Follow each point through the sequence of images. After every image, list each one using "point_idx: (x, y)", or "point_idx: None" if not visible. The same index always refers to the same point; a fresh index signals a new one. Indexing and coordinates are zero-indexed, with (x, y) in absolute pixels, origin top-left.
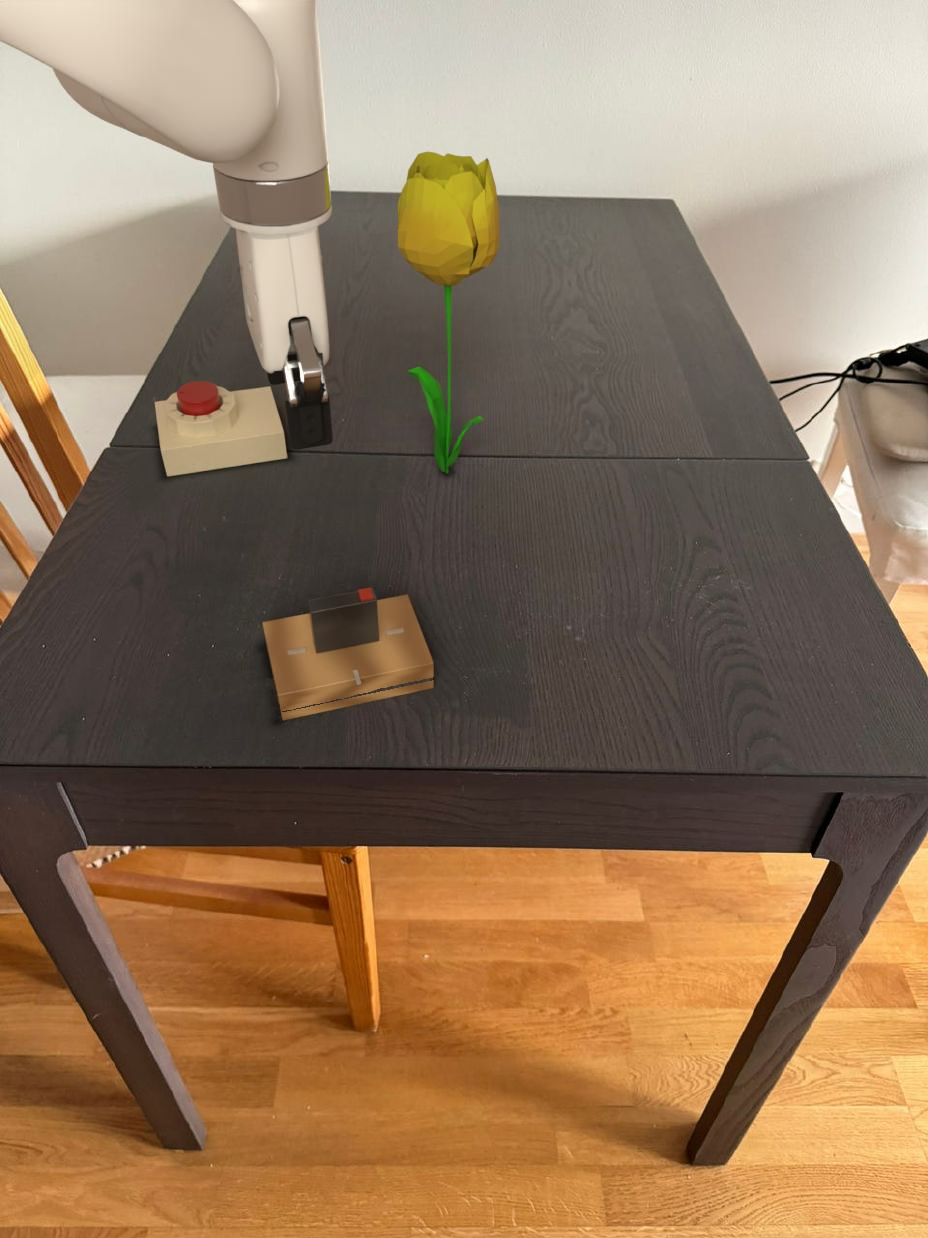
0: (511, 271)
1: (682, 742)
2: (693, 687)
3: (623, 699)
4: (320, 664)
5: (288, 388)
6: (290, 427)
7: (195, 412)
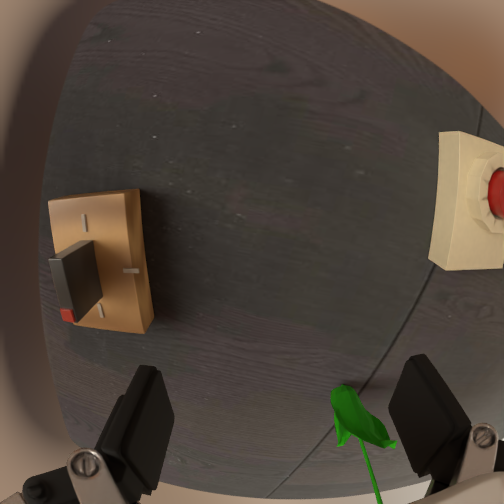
0: (493, 416)
1: (67, 398)
2: (99, 419)
3: (88, 394)
4: (70, 241)
5: (75, 488)
6: (124, 401)
7: (492, 184)
